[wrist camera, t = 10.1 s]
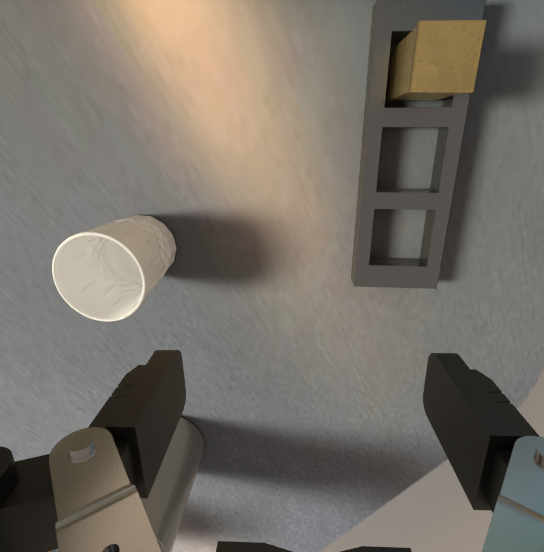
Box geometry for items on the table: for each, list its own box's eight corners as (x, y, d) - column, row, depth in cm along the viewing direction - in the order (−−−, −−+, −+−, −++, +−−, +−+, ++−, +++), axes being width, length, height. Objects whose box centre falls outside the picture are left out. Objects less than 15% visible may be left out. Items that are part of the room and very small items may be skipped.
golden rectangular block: (443, 47, 31) (486, 20, 24) (434, 101, 33) (473, 92, 25) (392, 47, 32) (419, 20, 24) (386, 101, 33) (410, 92, 26)
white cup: (189, 274, 41) (156, 316, 31) (123, 283, 42) (71, 326, 32) (171, 203, 38) (128, 225, 29) (100, 215, 39) (37, 240, 30)
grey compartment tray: (429, 279, 39) (436, 288, 36) (351, 277, 39) (354, 286, 37) (473, 4, 30) (487, -6, 28) (373, 7, 31) (378, -3, 28)
